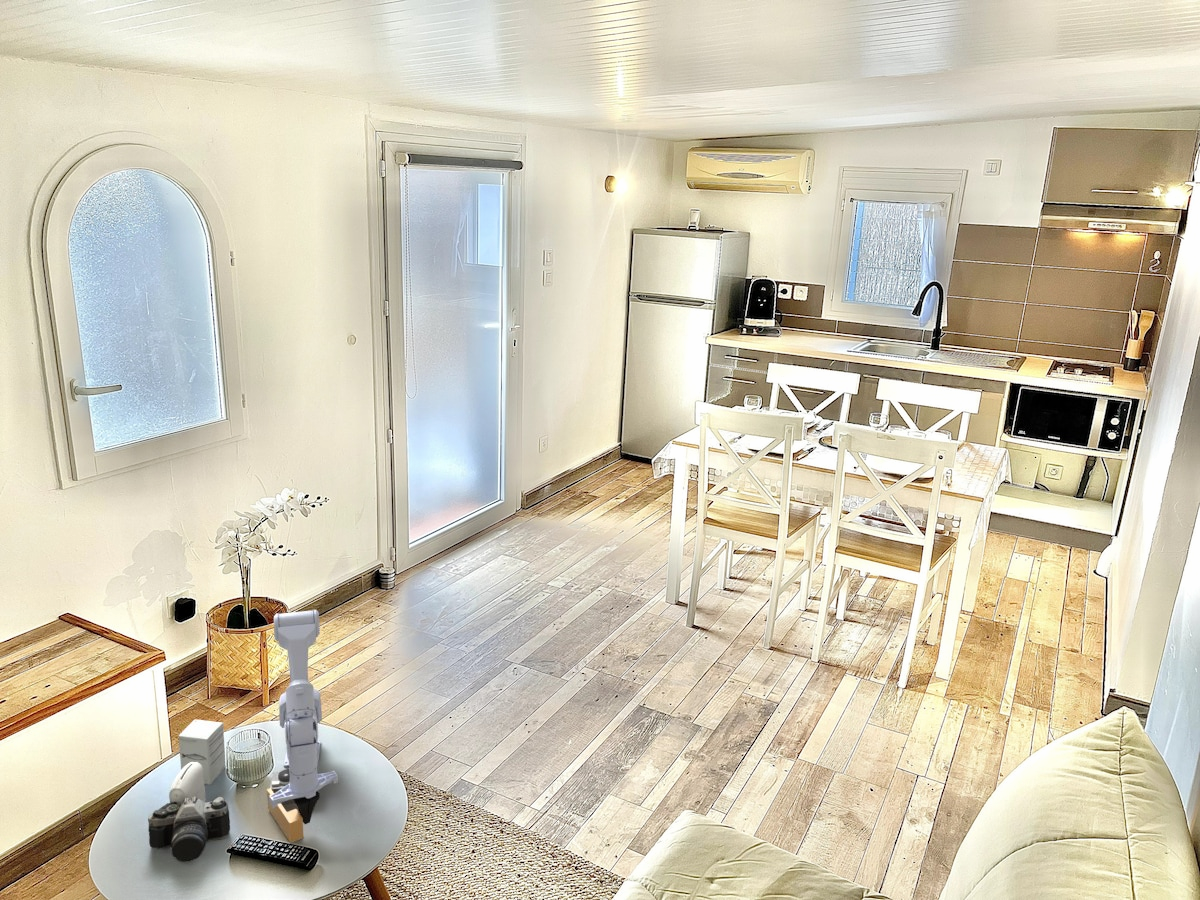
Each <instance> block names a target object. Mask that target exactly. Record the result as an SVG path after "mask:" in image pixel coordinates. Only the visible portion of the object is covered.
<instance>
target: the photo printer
mask: <svg viewBox="0 0 1200 900" xmlns="http://www.w3.org/2000/svg"><path fill="white" fill-rule="evenodd" d="M194 796H195V797H196V798H197V799H200V800H202V801H203V802H205V803H206V802H207V801H206V800H207V799H206V786H205V784H204V774H203V767H202V766H201V764H200V763H198V762H190V763H188V764H187V765H186V766H185V767H184V768H183V769H182V770H181V769H180V771H178V773H177V775H176V777H174V780H173V781H172V784H171V786H170V789H169V792H168V798H169V803H171V802H177V805H181V803H182V802H184V801H185V798H192V797H194Z"/></svg>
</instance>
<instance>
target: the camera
mask: <svg viewBox="0 0 1200 900" xmlns="http://www.w3.org/2000/svg"><path fill="white" fill-rule="evenodd" d="M228 805H229V804H228V801H227V800H225V798H223V797H222V796H218V797H217V798H215V799H214V800H213V801H212V800H210V801H208V802H207V801H206V803H205V802H203V801H202V800H200V799H197V798H196V797H195V796H194V797H192V798H185V801H184V802H182V803H181V805H177V802H171V803H170V802H168V803H166V804H164V805H162V806H161V807H160V808H159V809H155V810H154V811H153V812H151V813H149V814H148V817H147V818H148V819H147V821H148V838H149V839H148V841H149V842H148V843H149V846H150V848H152V849H153V850H159V849H168V848H170V851H171V854H172V857H174V858H175V859H176V860H177V861H178V862H183V863H188V862H192V861H194V860H196V859H198V858H200V856H201V855H202V854H203V851H204V850H205V848H206V844H207V842H209V841H210V842H211V841H218V840H219V841H220V840H222V839H225V838H226V839H227V837H228V836H229V835H230V830H231V825H230V824H231V822H230V820H231V819H230V810H229V806H228Z"/></svg>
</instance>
